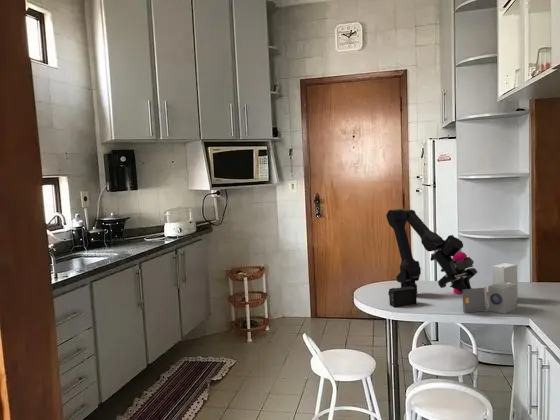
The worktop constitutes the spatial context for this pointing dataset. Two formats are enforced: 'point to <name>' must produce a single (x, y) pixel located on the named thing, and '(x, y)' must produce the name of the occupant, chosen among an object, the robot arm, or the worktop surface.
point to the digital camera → (402, 296)
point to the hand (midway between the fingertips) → (471, 295)
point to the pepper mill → (459, 258)
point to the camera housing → (502, 297)
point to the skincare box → (505, 274)
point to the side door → (474, 299)
